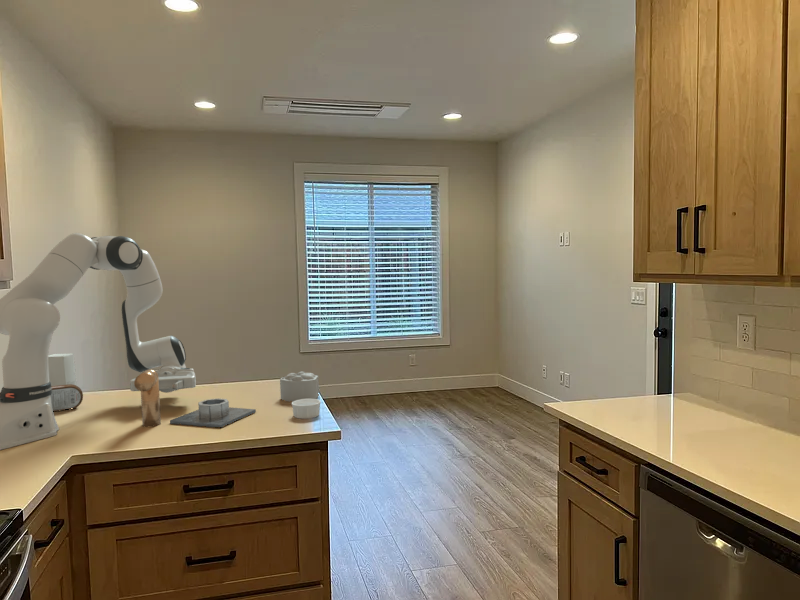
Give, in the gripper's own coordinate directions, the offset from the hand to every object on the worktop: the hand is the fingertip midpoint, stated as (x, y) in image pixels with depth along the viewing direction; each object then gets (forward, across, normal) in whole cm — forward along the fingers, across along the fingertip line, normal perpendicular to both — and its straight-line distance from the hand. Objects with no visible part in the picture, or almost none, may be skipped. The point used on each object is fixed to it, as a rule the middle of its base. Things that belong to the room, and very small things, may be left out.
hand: (159, 387), depth 186 cm
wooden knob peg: (+14, 0, +9) cm, 17 cm away
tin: (-14, -35, +9) cm, 38 cm away
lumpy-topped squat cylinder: (-10, +44, +9) cm, 46 cm away
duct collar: (+10, +18, +9) cm, 22 cm away
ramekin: (+14, +46, +9) cm, 49 cm away
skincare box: (-36, -42, +9) cm, 56 cm away
